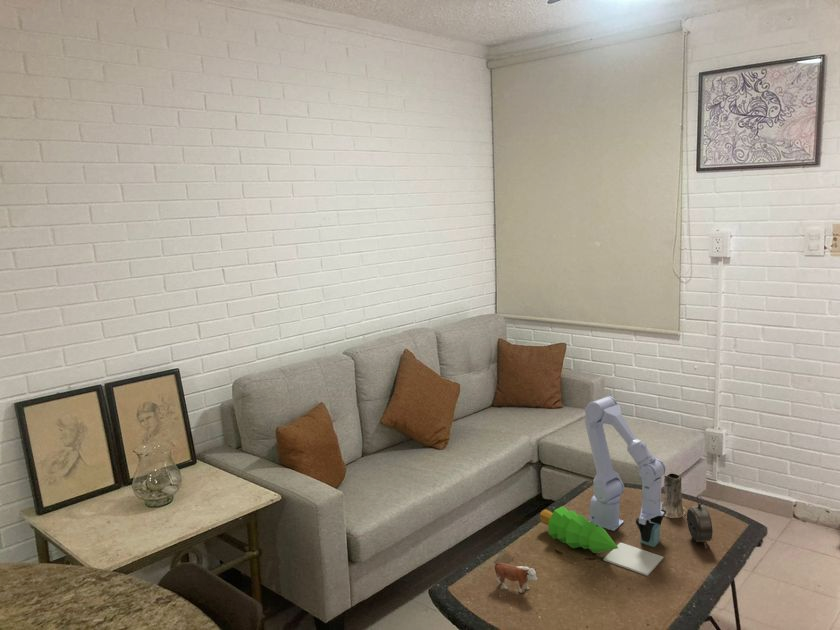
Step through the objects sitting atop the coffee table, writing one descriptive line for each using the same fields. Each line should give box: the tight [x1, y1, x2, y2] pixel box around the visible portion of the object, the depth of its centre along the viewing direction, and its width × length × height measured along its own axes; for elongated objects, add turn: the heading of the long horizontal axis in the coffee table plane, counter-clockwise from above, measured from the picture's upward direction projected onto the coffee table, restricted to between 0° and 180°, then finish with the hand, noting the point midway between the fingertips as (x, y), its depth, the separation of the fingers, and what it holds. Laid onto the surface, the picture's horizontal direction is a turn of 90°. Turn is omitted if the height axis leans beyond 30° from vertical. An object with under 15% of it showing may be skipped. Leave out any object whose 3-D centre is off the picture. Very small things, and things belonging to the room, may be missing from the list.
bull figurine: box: [494, 562, 538, 594], centre depth 194 cm, size 4×13×8 cm, turn 58°
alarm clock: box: [685, 494, 714, 550], centre depth 214 cm, size 11×5×16 cm, turn 178°
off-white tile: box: [603, 542, 664, 577], centre depth 207 cm, size 14×12×1 cm
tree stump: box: [662, 473, 688, 519], centre depth 235 cm, size 10×10×13 cm
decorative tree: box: [539, 505, 618, 554], centre depth 214 cm, size 11×12×30 cm
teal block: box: [640, 520, 661, 548], centre depth 216 cm, size 4×4×6 cm
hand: (650, 536), depth 216 cm, fingers open, 7 cm apart
